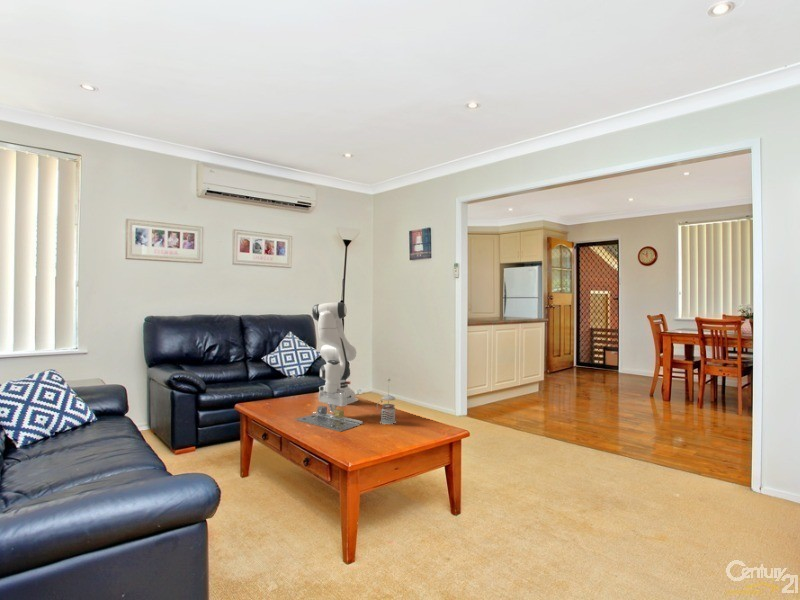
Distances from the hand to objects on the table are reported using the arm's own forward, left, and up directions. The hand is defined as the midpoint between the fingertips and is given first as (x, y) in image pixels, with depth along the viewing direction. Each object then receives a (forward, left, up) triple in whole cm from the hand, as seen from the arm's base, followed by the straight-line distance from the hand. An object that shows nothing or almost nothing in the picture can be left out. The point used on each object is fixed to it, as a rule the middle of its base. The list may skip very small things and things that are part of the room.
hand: (332, 411), depth 270 cm
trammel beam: (+2, +5, -4) cm, 7 cm away
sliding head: (+2, +5, -2) cm, 6 cm away
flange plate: (+10, +5, -4) cm, 12 cm away
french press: (-13, +30, -4) cm, 33 cm away
